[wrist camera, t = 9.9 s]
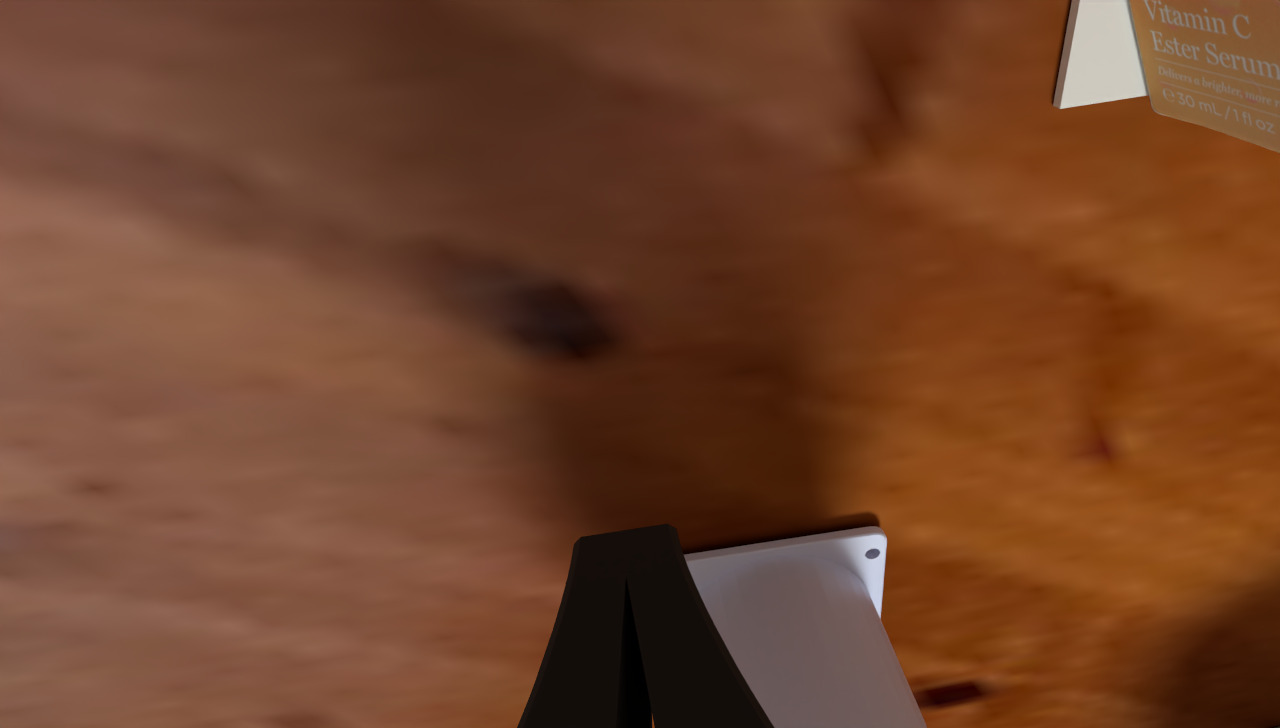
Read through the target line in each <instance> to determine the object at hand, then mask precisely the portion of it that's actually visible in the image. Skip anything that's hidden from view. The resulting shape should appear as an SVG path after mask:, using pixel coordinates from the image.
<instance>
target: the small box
mask: <svg viewBox="0 0 1280 728" xmlns="http://www.w3.org/2000/svg"><path fill="white" fill-rule="evenodd" d="M1129 3H1130V7H1131V13H1132V17H1133V22H1134V26H1135V31H1136V36H1137V41H1138V46H1139V50H1140V55H1141V60H1142V64H1143V68H1144V73H1145V78H1146V82H1147V87H1148V92H1149V97H1150V101H1151V106H1152V108H1153V110H1154V111H1155V112H1157V113H1159V114H1161V115H1165V116H1169V117H1173V118H1176V119H1179V120H1182V121H1187V122H1191V123H1194V124H1197V125H1201V126H1204V127H1207V128H1210V129H1213V130H1216V131H1219V132H1223V133H1225V134H1228V135H1230V136H1233V137H1236V138H1239V139H1242V140H1245V141H1248V142H1251V143H1254V144H1256V145H1259V146H1262V147H1265V148H1267V149H1270V150H1273V151H1276V152H1278V153H1280V0H1129Z"/></svg>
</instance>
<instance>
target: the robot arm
mask: <svg viewBox="0 0 1280 728" xmlns="http://www.w3.org/2000/svg"><path fill="white" fill-rule="evenodd" d="M886 547H887V538H886V535H885V533H884V531H883V530H882V529H881V528H879V527H876V526H869V527H862V528H855V529H849V530H842V531H836V532H829V533H823V534H816V535H810V536H803V537H796V538H790V539H783V540H777V541H770V542H764V543H757V544H751V545H744V546H738V547H731V548H724V549H718V550H711V551H705V552H698V553H692V554H685V555H684V554H683V551H682V548H681V545H680V542H679V538H678V534H677V529H676V528H674V527H672V526H671V525H669V524H663V525H657V526H650V527H644V528H637V529H631V530H624V531H617V532H611V533H604V534H598V535H591V536H585V537H580V538H579V540H578V541H577V542H576V543H575V544H574V548H573V554H572V559H571V564H570V569H569V573H568V578H567V582H566V586H565V590H564V593H563V597H562V601H561V604H560V608H559V611H558V614H557V618H556V621H555V624H554V628H553V631H552V634H551V637H550V640H549V643H548V646H547V649H546V652H545V655H544V658H543V660H542V663H541V666H540V669H539V672H538V675H537V678H536V681H535V684H534V686H533V689H532V692H531V695H530V697H529V700H528V702H527V705H526V707H525V710H524V712H523V715H522V717H521V720H520V722H519V725H518V727H517V728H652V714H653V720H654V726H655V728H927V726H926V724H925V721H924V719H923V717H922V714H921V712H920V710H919V707H918V705H917V703H916V701H915V698H914V696H913V694H912V691H911V689H910V687H909V684H908V682H907V680H906V677H905V675H904V673H903V670H902V668H901V666H900V663H899V661H898V659H897V657H896V654H895V652H894V650H893V647H892V645H891V643H890V640H889V638H888V636H887V633H886V631H885V629H884V626H883V624H882V622H881V607H882V595H883V583H884V571H885V559H886ZM870 549H871V550H870Z"/></svg>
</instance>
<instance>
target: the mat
mask: <svg viewBox="0 0 1280 728" xmlns="http://www.w3.org/2000/svg"><path fill="white" fill-rule="evenodd" d="M1146 95H1149V92H1148V87H1147V82H1146V78H1145V73H1144V68H1143V64H1142V60H1141V55H1140V50H1139V46H1138V41H1137V36H1136V31H1135V26H1134V22H1133V17H1132V13H1131V7H1130V3H1129V0H1072V3H1071V8H1070V14H1069V19H1068V25H1067V30H1066V36H1065V42H1064V47H1063V53H1062V58H1061V64H1060V69H1059V75H1058V81H1057V86H1056V92H1055V97H1054V103H1053V106H1054V107H1057V108H1059V109H1062V108H1068V107H1075V106H1081V105H1088V104H1094V103H1101V102H1107V101H1113V100H1120V99H1126V98H1133V97H1139V96H1146Z"/></svg>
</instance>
